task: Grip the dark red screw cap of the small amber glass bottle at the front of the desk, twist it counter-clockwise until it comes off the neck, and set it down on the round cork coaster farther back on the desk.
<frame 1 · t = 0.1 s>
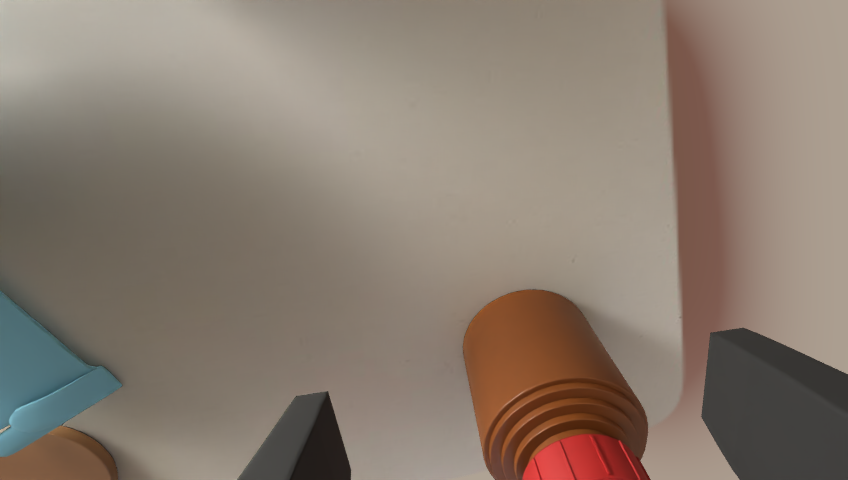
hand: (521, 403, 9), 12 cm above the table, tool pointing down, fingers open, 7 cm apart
bottle: (525, 344, 23), on the table
coaster: (56, 467, 24), on the table
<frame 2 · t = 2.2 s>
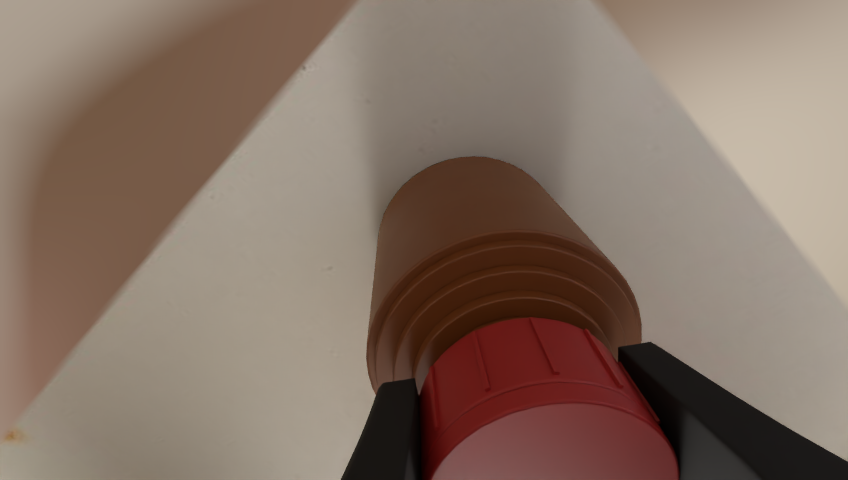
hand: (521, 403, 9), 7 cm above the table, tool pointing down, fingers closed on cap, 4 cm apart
bottle: (468, 245, 16), on the table
cap: (544, 479, 8), point 9 cm above the table, screwed on, not yet turned, touching gripper
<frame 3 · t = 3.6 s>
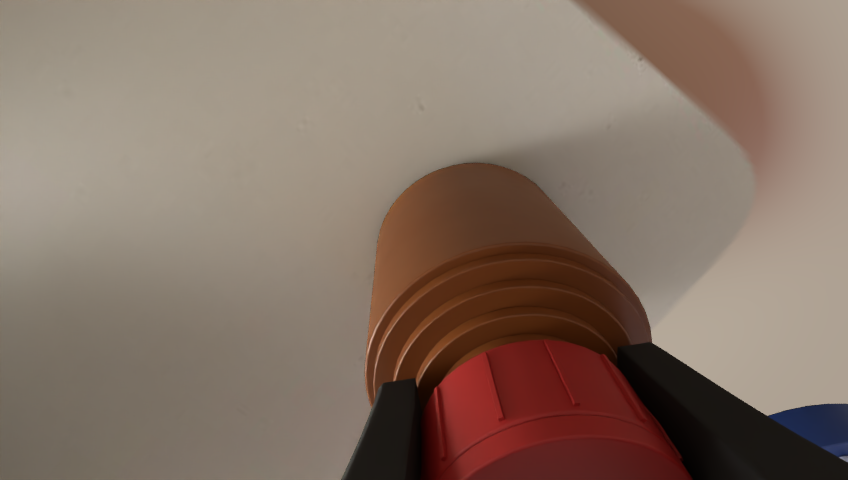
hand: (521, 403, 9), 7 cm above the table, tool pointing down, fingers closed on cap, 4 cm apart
bottle: (470, 253, 15), on the table
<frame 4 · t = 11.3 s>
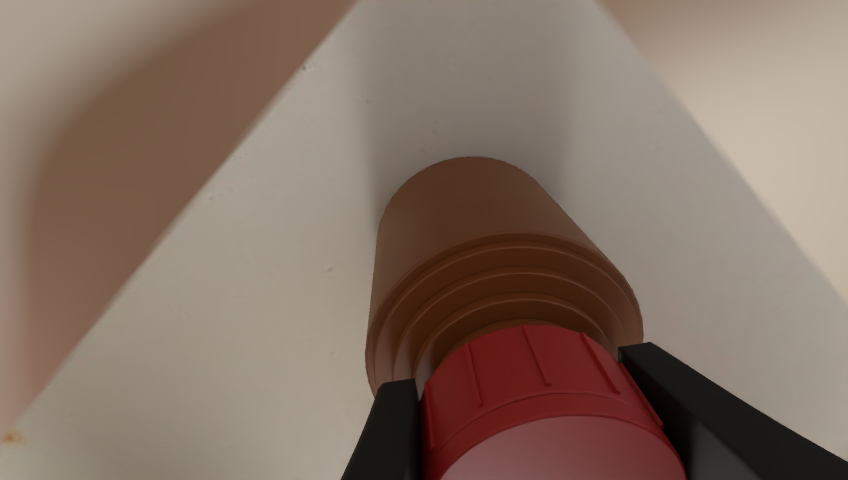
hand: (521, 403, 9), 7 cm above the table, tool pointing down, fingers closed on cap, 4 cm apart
bottle: (468, 246, 16), on the table
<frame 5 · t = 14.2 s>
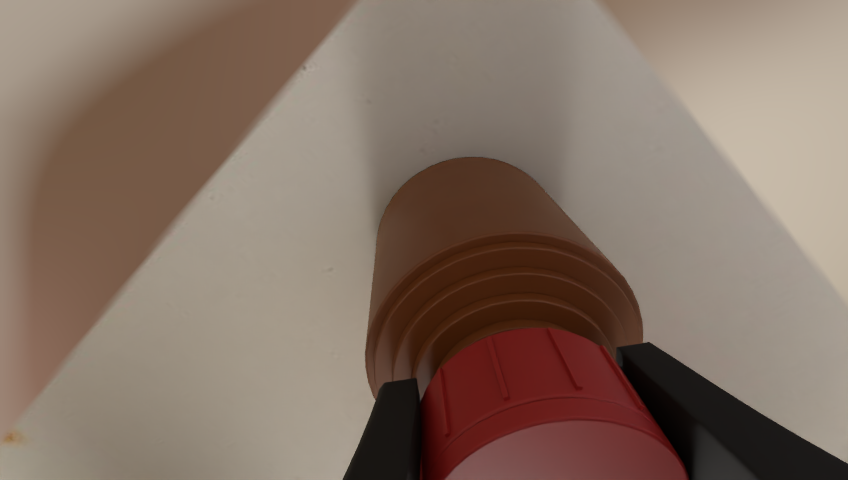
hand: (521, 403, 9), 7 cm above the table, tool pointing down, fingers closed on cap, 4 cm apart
bottle: (468, 246, 16), on the table
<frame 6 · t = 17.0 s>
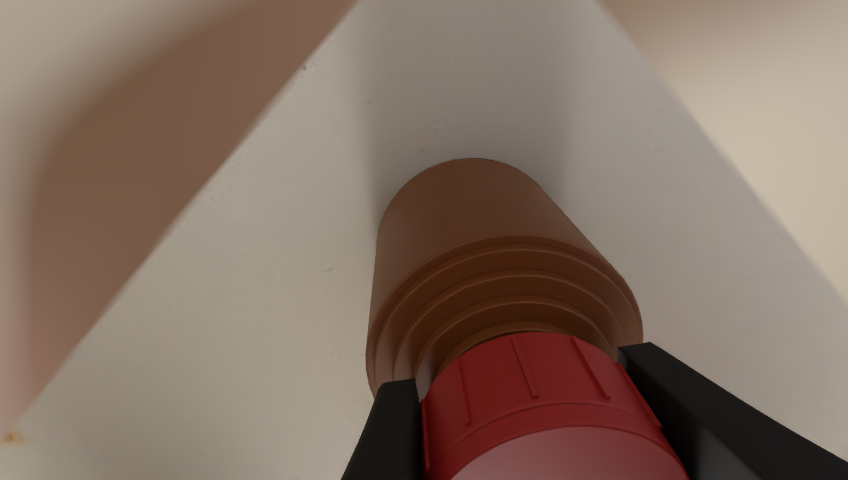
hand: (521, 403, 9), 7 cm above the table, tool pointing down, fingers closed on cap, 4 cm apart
bottle: (468, 247, 16), on the table
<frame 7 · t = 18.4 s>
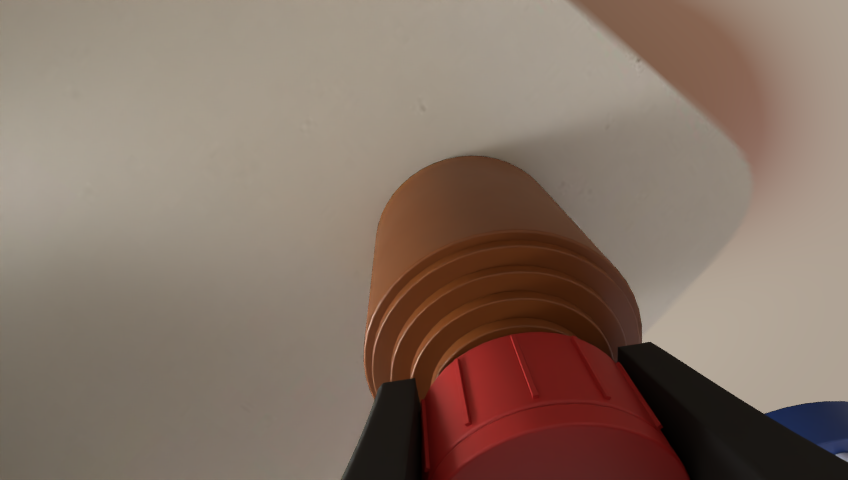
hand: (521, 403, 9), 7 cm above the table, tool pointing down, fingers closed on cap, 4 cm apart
bottle: (467, 245, 16), on the table
when the fingers open (2 cm above the table, at t = 23.9 s): cap drops 2 cm, resting on coaster.
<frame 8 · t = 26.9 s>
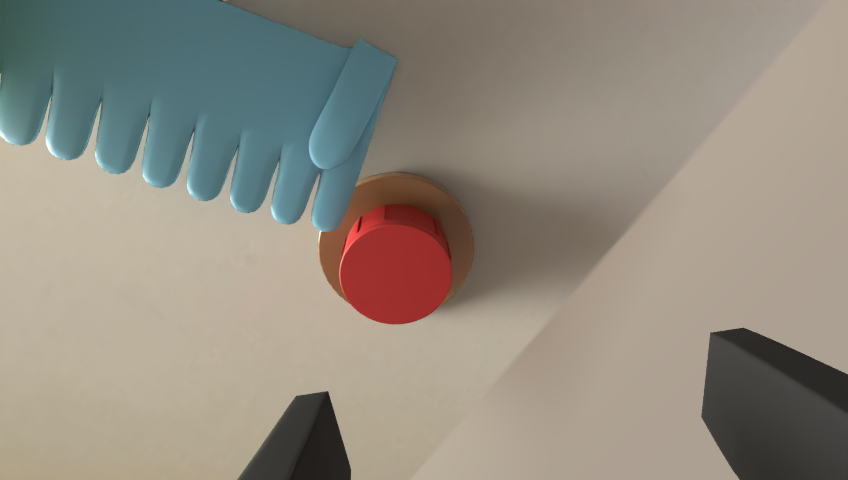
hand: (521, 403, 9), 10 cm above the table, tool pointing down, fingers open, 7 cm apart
coaster: (396, 245, 19), on the table
cap: (396, 271, 17), point 2 cm above the table, off its thread, touching coaster
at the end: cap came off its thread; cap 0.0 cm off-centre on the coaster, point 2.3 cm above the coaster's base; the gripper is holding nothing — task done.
